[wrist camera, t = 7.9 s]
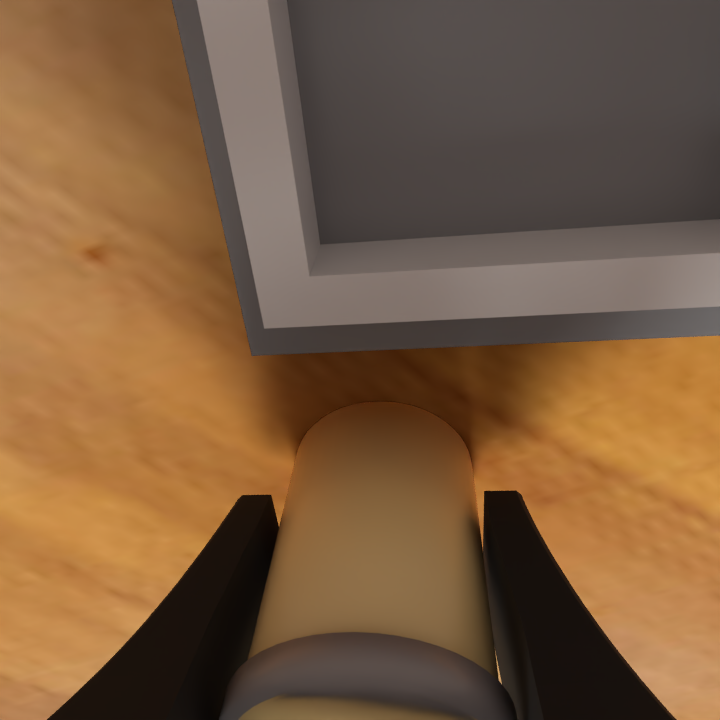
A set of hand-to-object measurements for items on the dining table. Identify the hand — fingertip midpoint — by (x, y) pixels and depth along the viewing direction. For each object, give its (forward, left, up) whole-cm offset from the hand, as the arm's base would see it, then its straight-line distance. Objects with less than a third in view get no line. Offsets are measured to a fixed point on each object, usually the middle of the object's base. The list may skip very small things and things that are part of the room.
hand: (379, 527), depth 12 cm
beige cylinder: (0, 0, -2) cm, 2 cm away
